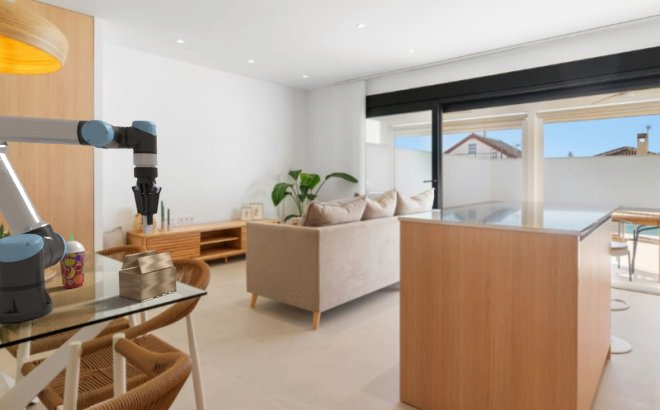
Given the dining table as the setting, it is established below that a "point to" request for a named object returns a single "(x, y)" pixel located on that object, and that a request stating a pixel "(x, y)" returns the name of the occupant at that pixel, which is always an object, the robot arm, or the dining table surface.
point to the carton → (146, 283)
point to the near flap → (155, 262)
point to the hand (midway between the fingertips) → (147, 233)
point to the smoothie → (73, 264)
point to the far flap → (135, 259)
